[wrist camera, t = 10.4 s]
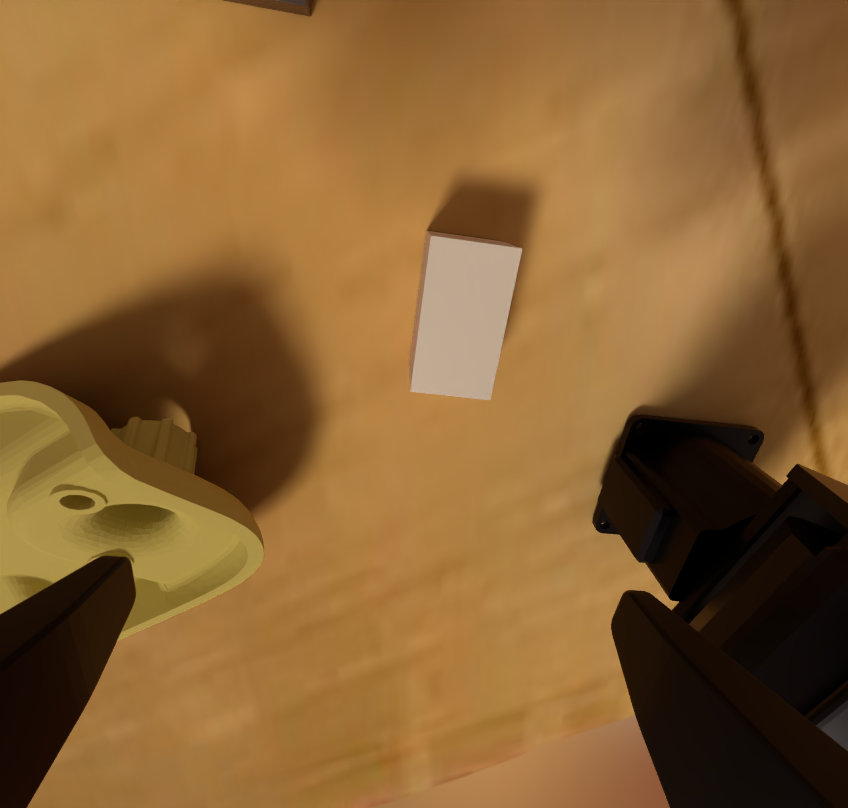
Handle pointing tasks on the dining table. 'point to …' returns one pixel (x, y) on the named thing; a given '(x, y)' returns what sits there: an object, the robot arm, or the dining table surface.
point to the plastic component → (113, 506)
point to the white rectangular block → (461, 314)
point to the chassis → (281, 5)
